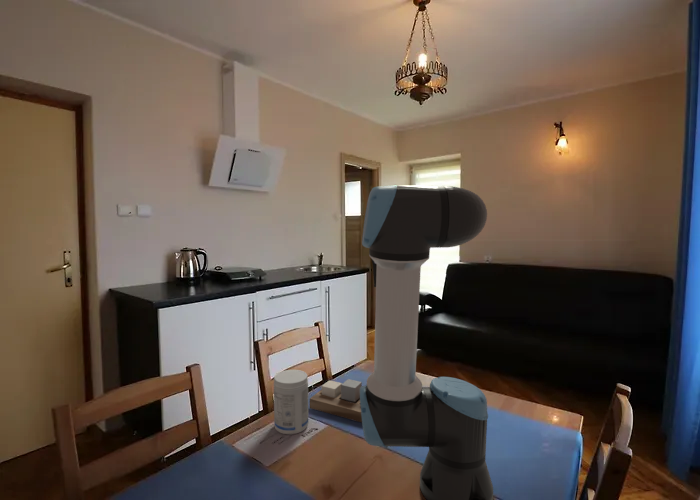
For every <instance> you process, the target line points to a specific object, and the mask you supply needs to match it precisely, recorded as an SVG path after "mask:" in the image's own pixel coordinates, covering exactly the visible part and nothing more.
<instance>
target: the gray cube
mask: <svg viewBox="0 0 700 500" xmlns="http://www.w3.org/2000/svg"><path fill="white" fill-rule="evenodd" d="M362 386H363V383H362V381H359V380H354V379H350V378H347V379H346V380H345V381H344V382H343V383H342V385H341V399H345V400H347V401H348V402H352V403H357V402H356V401H357V400H358V399H359V398H360V387H362Z"/></svg>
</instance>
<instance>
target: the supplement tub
mask: <svg viewBox="0 0 700 500" xmlns="http://www.w3.org/2000/svg"><path fill="white" fill-rule="evenodd" d="M273 414H274V415H273V418H274V419H273V420H274V422H273V423H274V424H273V425H274V428H275V430H276V431H277V432H278V433H279V434H282V435H296V434H298V433H299V434H300V433H301V432H303V431H304V430H305V429H306V428H308V425H309V379H308V374H307V372H306V371H303V370H300V369H286V370H281V371H280V372H277V373H276V374H275V375H274V378H273Z"/></svg>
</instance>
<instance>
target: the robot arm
mask: <svg viewBox="0 0 700 500" xmlns="http://www.w3.org/2000/svg"><path fill="white" fill-rule="evenodd" d="M487 219H488V209H487V207H486V204H485V202H484V200H483V199H482V197H480V196H479V195H478V194H477V193H475V192H473V191H472V190H468V189H465V188H461V187H458V186H450V185H447V186H446V185H442V186H438V185H435V186H434V185H397V184H393V185H380V186H379V185H378V186H374V187H372V188H371V190H370V192H369V195H368V198H367V202H366V209H365V215H364V222H363V230H362V231H363V232H362V239H361V244H362V246H363V247H364V248H366V249H367V248H368V249H369V253H368V255H369V257H370V259H371V263H372V274H373V275H372V276H373V287H374V288H375V317H374V319H375V321H374V322H375V323H374V325H375V326H374V355H373V357H374V360H373V363H374V364H373V372H372V373H370V374H369V376H368V377H367V379H366V384H365V385H362V387H360V405H361V416H362V422H361V425H362V431H363V436H364V441H365V442H366V443H367V444H368V445H370V446H375V447H383V448H388V447H396V448H397V447H401V448H403V447H404V448H405V447H406V448H408V447H409V448H413V447H414V448H428V451H427V454H426V457H425V459H424V461H423V464H422V467H421V469H420V474H419V487H420V488H419V489H420V491H421V494H422V496H423V497H424V498H425V499H426V500H494V487H493V485H494V484H493V482H492V479H491V476H490V471H489V469H488V466H487V462H486V457H487V456H486V453H487V452H486V451H487V430H488V418H489V414H488V400H487V397H486V395H485V394H484V392H483V390H481V389H480V388H479V387H478V386H476V385H475V384H472V383H470V382H468V381H467V380H463V379H459V378H458V377H457V378H456V377H450V376H438V377H434V378H433V379H432V380H431V382H430V383H429V387H428V386H427V387H426V386H423V383H422V381H421V379H420V378H419V377H418V376H417V375H416V372H417V371H416V370H417V351H418V332H419V331H418V330H419V311H420V309H419V308H420V307H419V305H420V290H421V289H420V287H421V268H422V266H423V265H424V264H425V263H426V262H428V260H429V259H430V253H431V252H430V251H431V248H432V249H434V248H438V249H439V248H440V249H441V248H453V247H458V246H462V245H464V244H466V243H468V242H470V241H472V240H473V239H475V238H476V237H477V236H479V235H480V233H481V232H482V230H483V229H484V227H485V225H486V223H487Z"/></svg>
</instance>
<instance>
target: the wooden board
mask: <svg viewBox="0 0 700 500" xmlns="http://www.w3.org/2000/svg"><path fill="white" fill-rule="evenodd" d="M309 409H312V410H314V411H315V410H316V411H318V412H322V413H326V414H331V415H333V416H337V417H339V418H344V419H348V420H351V421H355V422H359V423H362V416H361V405H360V398H359V399H358V400H357V401H356V402H353V401H349V400H345V399H341V394H340V395H339V396H338V397H336V398H333V397H329V396H325V395H322V388H321V389H320V390H319V391H317V392H316V393H315V394H314V395H312V396H311V397H309Z"/></svg>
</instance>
